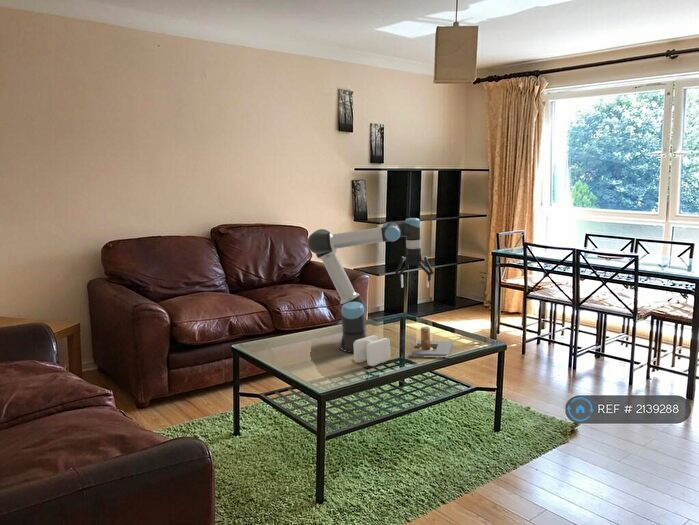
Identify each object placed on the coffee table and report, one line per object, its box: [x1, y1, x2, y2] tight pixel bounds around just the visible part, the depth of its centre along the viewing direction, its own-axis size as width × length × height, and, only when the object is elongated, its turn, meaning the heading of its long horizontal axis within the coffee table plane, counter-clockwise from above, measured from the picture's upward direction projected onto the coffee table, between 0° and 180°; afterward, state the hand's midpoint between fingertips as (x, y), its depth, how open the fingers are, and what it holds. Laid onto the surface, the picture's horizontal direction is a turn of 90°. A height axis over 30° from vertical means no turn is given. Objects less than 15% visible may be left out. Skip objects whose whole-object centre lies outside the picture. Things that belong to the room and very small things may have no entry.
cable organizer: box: [353, 334, 391, 367], centre depth 278 cm, size 15×11×12 cm
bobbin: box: [418, 326, 434, 351], centre depth 290 cm, size 7×7×12 cm
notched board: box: [411, 340, 454, 358], centre depth 290 cm, size 18×20×2 cm
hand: (414, 287), depth 306 cm, fingers open, 13 cm apart
